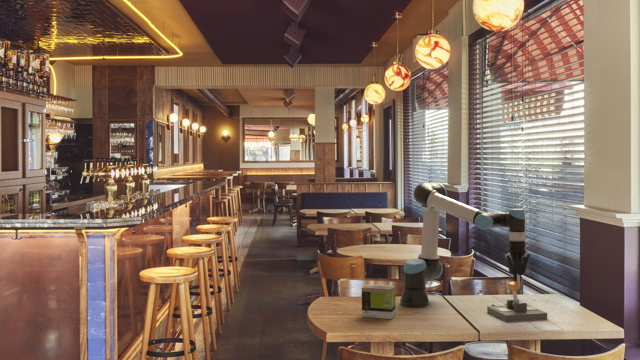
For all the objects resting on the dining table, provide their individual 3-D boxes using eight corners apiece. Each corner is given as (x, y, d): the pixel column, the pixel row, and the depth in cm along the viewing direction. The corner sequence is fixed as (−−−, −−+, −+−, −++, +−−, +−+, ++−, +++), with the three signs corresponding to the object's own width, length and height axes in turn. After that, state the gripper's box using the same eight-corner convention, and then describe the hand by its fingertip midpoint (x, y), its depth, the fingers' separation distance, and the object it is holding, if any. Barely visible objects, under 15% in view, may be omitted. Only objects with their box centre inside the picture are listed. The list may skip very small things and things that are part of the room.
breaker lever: (517, 310, 287) (512, 284, 286) (511, 308, 292) (507, 282, 291) (522, 309, 287) (518, 283, 286) (517, 306, 292) (512, 281, 291)
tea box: (395, 314, 291) (396, 285, 290) (391, 320, 281) (391, 289, 281) (366, 312, 295) (366, 283, 295) (361, 317, 286) (361, 287, 286)
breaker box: (505, 321, 278) (505, 307, 278) (479, 308, 304) (479, 295, 304) (547, 319, 283) (547, 304, 283) (518, 306, 308) (518, 293, 308)
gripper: (509, 241, 284) (509, 290, 284) (533, 240, 286) (533, 288, 287) (501, 239, 291) (501, 286, 292) (524, 238, 294) (524, 285, 294)
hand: (517, 287), depth 289 cm, fingers closed
